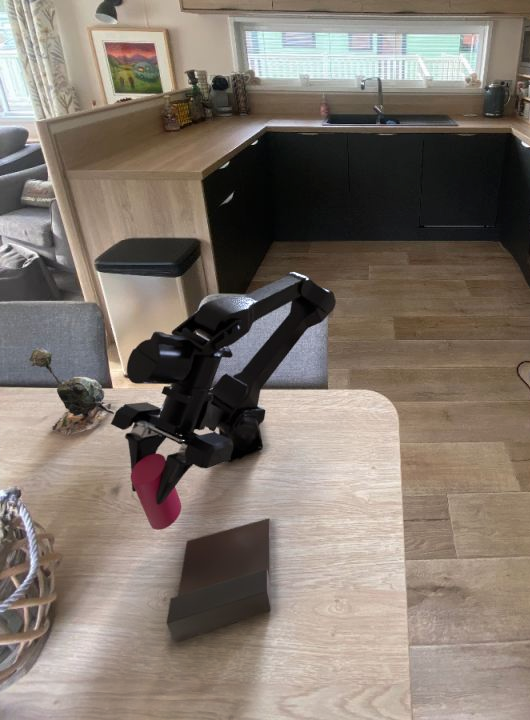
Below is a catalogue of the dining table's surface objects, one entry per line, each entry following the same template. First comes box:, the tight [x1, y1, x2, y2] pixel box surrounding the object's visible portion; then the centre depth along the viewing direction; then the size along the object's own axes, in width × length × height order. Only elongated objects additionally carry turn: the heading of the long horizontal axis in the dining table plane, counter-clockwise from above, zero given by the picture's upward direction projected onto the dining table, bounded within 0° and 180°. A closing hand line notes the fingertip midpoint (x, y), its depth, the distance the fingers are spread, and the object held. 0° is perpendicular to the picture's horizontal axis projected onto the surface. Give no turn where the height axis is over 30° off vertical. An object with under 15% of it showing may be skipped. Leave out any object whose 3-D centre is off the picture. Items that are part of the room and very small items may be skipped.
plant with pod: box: [28, 347, 116, 436], centre depth 75 cm, size 8×11×20 cm
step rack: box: [165, 517, 272, 643], centre depth 55 cm, size 10×12×5 cm
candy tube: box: [130, 453, 182, 531], centre depth 58 cm, size 4×4×11 cm
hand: (147, 497), depth 56 cm, fingers closed on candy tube, 4 cm apart
